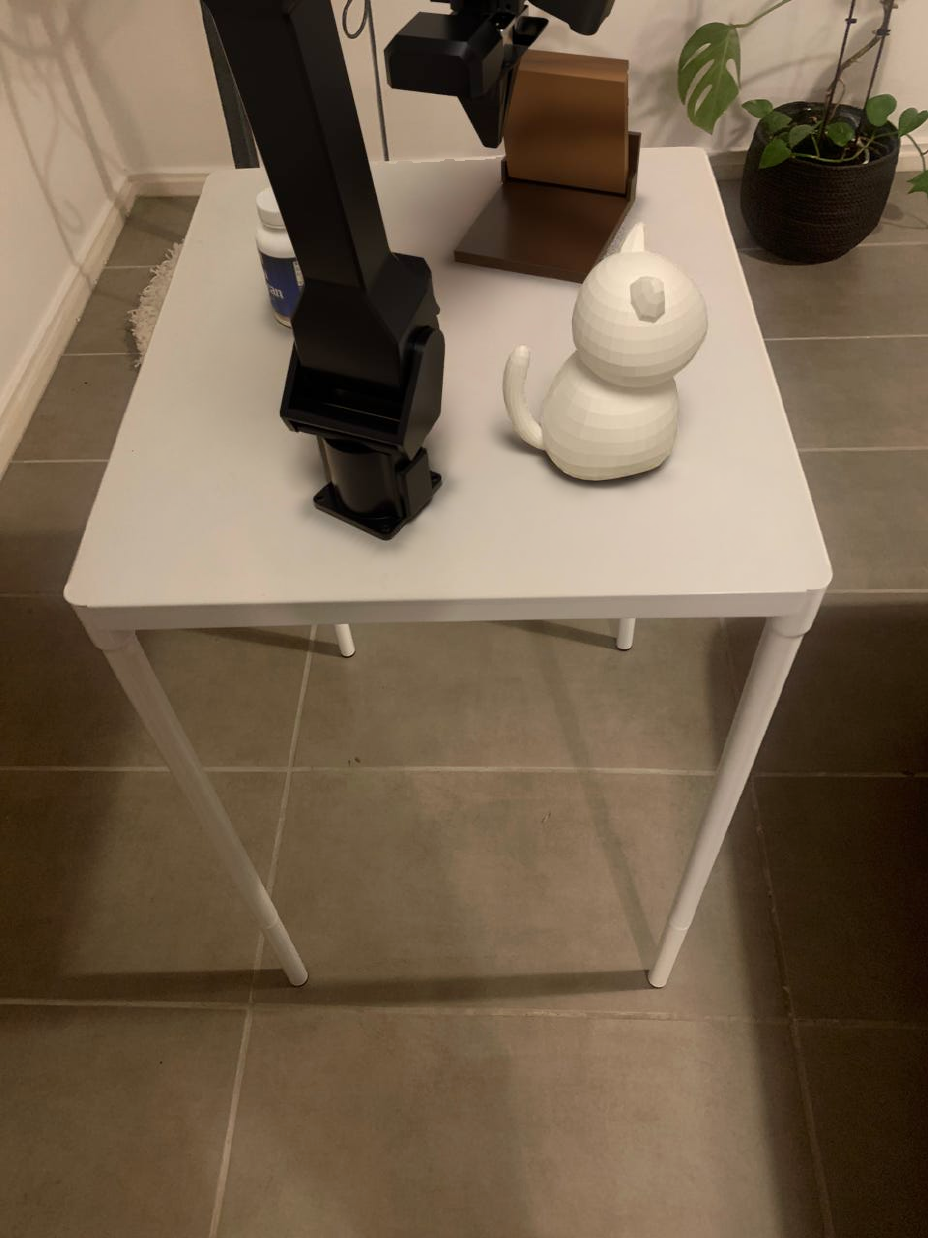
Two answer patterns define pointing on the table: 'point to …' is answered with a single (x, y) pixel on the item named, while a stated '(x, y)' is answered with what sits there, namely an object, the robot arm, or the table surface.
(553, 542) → the table surface
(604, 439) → the cat figurine
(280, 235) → the pill bottle
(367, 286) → the robot arm
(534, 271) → the stand
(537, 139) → the wooden letter rack
